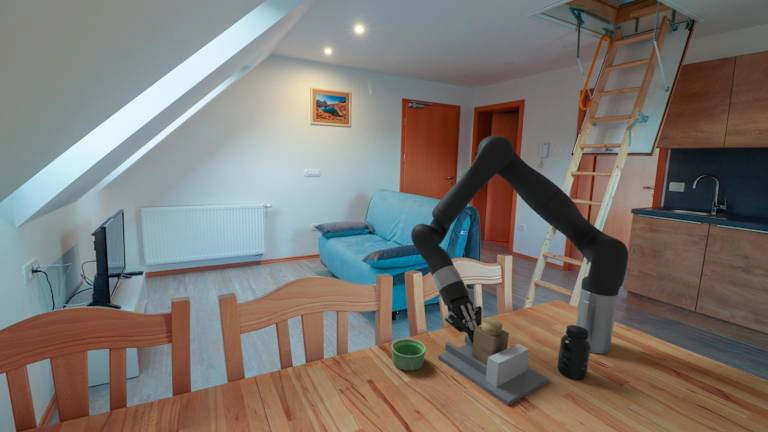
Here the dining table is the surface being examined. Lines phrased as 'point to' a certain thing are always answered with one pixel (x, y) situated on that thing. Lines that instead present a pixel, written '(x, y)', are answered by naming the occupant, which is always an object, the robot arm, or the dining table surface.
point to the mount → (496, 371)
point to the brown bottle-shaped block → (489, 340)
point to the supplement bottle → (574, 353)
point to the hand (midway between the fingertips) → (478, 344)
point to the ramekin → (408, 354)
